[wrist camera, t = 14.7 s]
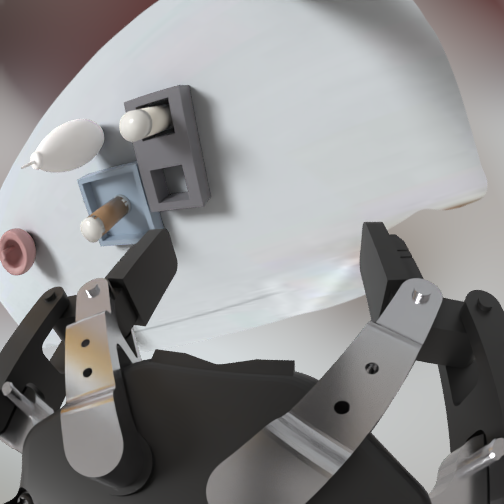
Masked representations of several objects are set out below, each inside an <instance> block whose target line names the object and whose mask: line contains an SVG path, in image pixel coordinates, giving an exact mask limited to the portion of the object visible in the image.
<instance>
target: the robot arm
mask: <svg viewBox="0 0 504 504" xmlns="http://www.w3.org/2000/svg"><path fill="white" fill-rule="evenodd" d="M176 271H177V258H176V255H175V252H174V248H173V245H172V242H171V238H170V235H169V232H168V231H167V229H151V230H148V231H147V232H146V234H145V235H144V236H143V237H142V238H141V239H140V240H139V241H138V243H136V244H135V245H133V246H132V247H131V248H130V249H129V250H128V251H127V252H126V253H125V256H123V257H122V258H121V259H120V262H118V263H117V264H116V265H115V266H114V267H113V269H112V270H111V271H110V272H109V273H108V275H107V276H106V277H105V278H97V279H93V280H91V281H89V282H87V283H86V284H84V285H83V286H82V287H81V288H80V289H79V291H78V293H77V295H74V296H69V297H67V295H66V293H65V291H64V290H63V288H62V287H54V288H52V289H50V290H48V291H46V292H45V293H44V294H43V295H42V296H41V297H40V298H39V300H38V301H37V302H36V304H35V305H34V306H33V307H32V309H31V310H30V311H29V313H28V314H27V315H26V317H25V318H24V319H23V321H22V322H21V323H20V325H19V326H18V328H17V329H16V330H15V332H14V333H13V335H12V336H11V337H10V339H9V340H8V342H7V343H6V345H5V346H4V348H3V349H2V351H1V353H0V440H1V441H2V442H4V443H5V444H6V445H8V446H9V447H11V448H12V449H15V450H17V451H18V452H20V453H22V474H21V483H20V488H19V491H18V493H17V495H16V496H15V497H14V498H13V499H12V500H10V501H9V502H6V503H4V504H504V311H503V309H502V307H501V305H500V304H499V302H498V301H497V299H496V298H495V297H494V296H492V295H491V294H489V293H487V292H485V291H482V290H474V291H471V292H469V294H467V296H466V299H465V301H464V302H461V301H456V300H451V299H446V298H443V296H442V293H441V290H440V289H439V288H438V287H437V286H436V285H435V284H434V283H432V282H430V281H428V280H425V279H423V277H422V275H421V273H420V271H419V269H418V267H417V265H416V263H415V261H414V259H413V258H412V255H411V253H410V252H409V250H408V248H407V246H406V244H405V242H404V241H403V240H402V239H400V238H399V237H398V236H397V235H389V233H388V231H387V229H386V227H385V225H384V224H383V222H364V223H363V228H362V240H361V251H360V272H361V276H362V280H363V284H364V288H365V293H366V297H367V301H368V306H369V311H370V315H371V321H370V322H368V323H367V324H366V326H365V327H364V328H363V329H362V331H361V332H360V333H359V334H358V336H357V337H356V338H355V339H354V341H353V342H352V343H351V344H350V346H349V347H348V348H347V349H346V351H345V352H344V353H343V354H342V355H341V356H340V358H339V359H338V360H337V361H336V362H335V363H334V364H333V366H332V367H331V368H330V369H329V370H328V371H327V372H326V373H325V375H324V376H323V377H322V378H321V379H320V380H317V379H315V378H313V377H311V376H308V375H305V374H303V373H299V372H295V363H294V361H289V360H284V361H283V360H259V359H256V360H250V361H243V362H236V363H228V364H213V363H211V362H208V361H205V360H202V359H199V358H197V357H194V356H191V355H189V354H186V353H179V352H172V351H164V350H158V349H156V350H155V352H154V354H153V357H152V359H148V360H143V361H142V359H141V355H140V352H139V348H138V344H137V340H136V336H135V333H134V331H133V329H132V327H133V325H140V326H146V325H147V323H148V321H149V319H150V317H151V316H152V314H153V312H154V310H155V309H156V307H157V305H158V303H159V301H160V300H161V298H162V296H163V294H164V293H165V291H166V289H167V287H168V286H169V284H170V282H171V281H172V279H173V277H174V275H175V274H176ZM52 328H53V329H54V330H55V332H56V333H57V335H58V336H59V337H60V339H61V340H62V341H61V343H60V344H59V346H58V348H57V349H56V351H55V353H54V354H53V356H52V358H51V359H50V361H49V360H48V359H47V358H46V357H45V355H44V354H43V351H42V345H43V342H44V340H45V339H46V337H47V336H48V334H49V333H50V331H51V330H52ZM416 360H417V361H422V362H427V363H433V364H438V368H439V373H440V378H441V383H442V388H443V394H444V400H445V406H446V411H447V412H446V413H447V420H448V428H449V439H450V451H451V454H449V455H448V456H447V457H446V458H445V459H444V461H443V462H442V463H441V465H440V467H439V470H438V476H437V481H436V484H435V486H434V488H433V490H432V491H431V493H430V494H429V495H428V493H427V491H426V490H425V489H424V487H423V486H422V485H421V484H420V483H419V482H418V481H417V480H416V479H415V478H414V477H413V476H412V475H411V474H410V473H409V472H408V471H407V470H406V469H405V468H404V467H403V466H402V465H401V464H400V463H399V462H398V461H397V460H396V459H395V458H394V457H393V455H392V454H391V453H390V452H388V450H387V449H386V448H385V447H384V446H383V445H382V444H381V443H380V442H379V441H378V440H377V439H376V438H375V436H374V435H373V434H372V433H371V431H372V430H373V429H374V427H375V426H376V425H377V423H378V422H379V420H380V419H381V417H382V416H383V414H384V413H385V411H386V410H387V408H388V407H389V405H390V404H391V402H392V400H393V399H394V397H395V396H396V394H397V392H398V391H399V389H400V387H401V386H402V384H403V382H404V381H405V379H406V377H407V375H408V373H409V372H410V370H411V368H412V366H413V365H414V363H415V361H416ZM65 396H66V404H65V405H64V406H63V407H62V408H61V409H60V407H61V405H62V402H63V400H64V398H65Z"/></svg>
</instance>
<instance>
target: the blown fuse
mask: <svg viewBox="0 0 504 504" xmlns="http://www.w3.org/2000/svg"><path fill="white" fill-rule="evenodd" d="M130 210H131V203H130V201H129V199H128V198H127V197H126V196H124V195H122V194H119V195H116V196H115V197H114V198H112V199H111V200H109V201H108V202H107V203H105V204H104V205H103V206H101V207H100V208H99V209H97V210H96V211H95V212H93V213H92V214H91V215H90V216H88V217H87V218H86V219H84V220H83V221H82V222H81V225H80V228H81V232H82V234H83V236H84V237H85V238H86V239H87V240H88V241H90V242H97V241H98V240H99V239H100V238H101V237H102V236H103V235H104V234H106V233H107V232H108V231H109V230H110V229H111V228H112V227H113V226H114V225H115V224H117V223H118V222H119V221H120V220H121V219H122V218H123V217H125V216H126V215H127V214H128V213H129V212H130Z"/></svg>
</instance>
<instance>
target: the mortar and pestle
mask: <svg viewBox="0 0 504 504" xmlns="http://www.w3.org/2000/svg"><path fill="white" fill-rule="evenodd" d="M35 256H36V248H35V243H34V241H33V239H32V237H31V236H30V235H29V234H28V233H27V232H26V231H24V230H22V229H11V230H9V231H7V232H5V233H4V234H3V236H2V237H1V240H0V260H1V262H2V265H3V267H4V268H5V269H6V270H7V272H9V273H10V274H12V275H21V274H24V273H26V272H27V271H28V270H29V269H30V268H31V267H32V265H33V263H34V260H35Z"/></svg>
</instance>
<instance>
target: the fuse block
mask: <svg viewBox="0 0 504 504" xmlns="http://www.w3.org/2000/svg"><path fill="white" fill-rule="evenodd" d="M167 99H168V100H169V105H170V110H171V115H172V120H173V125H174V130H175V132H172V133H168V134H164V135H160V136H156V137H155V134H154V135H151V136H148V137H146V138H143V139H141V140H138V141H135V142H133V147H134V151H135V155H136V159H137V163H138V167H139V171H140V174H141V178H142V182H143V185H144V189H145V192H146V196H147V199H148V203H149V206H150V210H151V212H158V211H166V210H175V209H184V208H193V207H203V206H204V205H205V204H206V202H207V201H208V200H209V198H210V197H211V194H210V190H209V185H208V180H207V175H206V170H205V166H204V161H203V156H202V151H201V146H200V140H199V135H198V130H197V125H196V120H195V114H194V109H193V103H192V98H191V92H190V87H189V85H178V86H174V87H171V88H167V89H164V90H160V91H157V92H154V93H151V94H147V95H144V96H141V97H138V98H136V99H133V100H130V101H127V102H124V106H125V111H126V113H127V112H129V111H133V110H137V109H142V108H148V107H149V105H150V104H153V103H157V102H160V101H164V100H167ZM177 165H182V167H183V172H184V176H185V180H186V185H187V189H188V192H181V193H174V194H169V192H168V188H167V184H166V180H165V176H164V172H163V168H166V167H171V166H177Z"/></svg>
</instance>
